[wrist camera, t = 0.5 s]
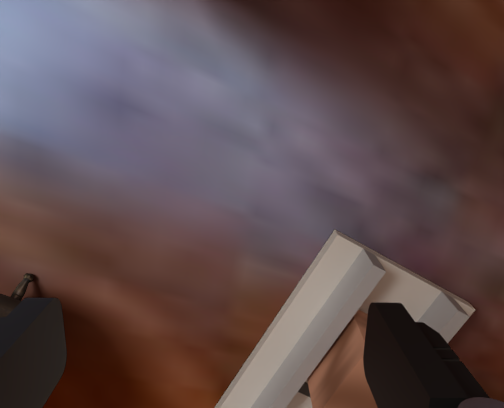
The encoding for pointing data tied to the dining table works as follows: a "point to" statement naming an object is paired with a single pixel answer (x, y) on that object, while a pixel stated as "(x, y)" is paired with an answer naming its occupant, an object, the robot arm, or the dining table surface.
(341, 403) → the block
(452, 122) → the dining table surface
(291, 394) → the chute
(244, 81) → the dining table surface
